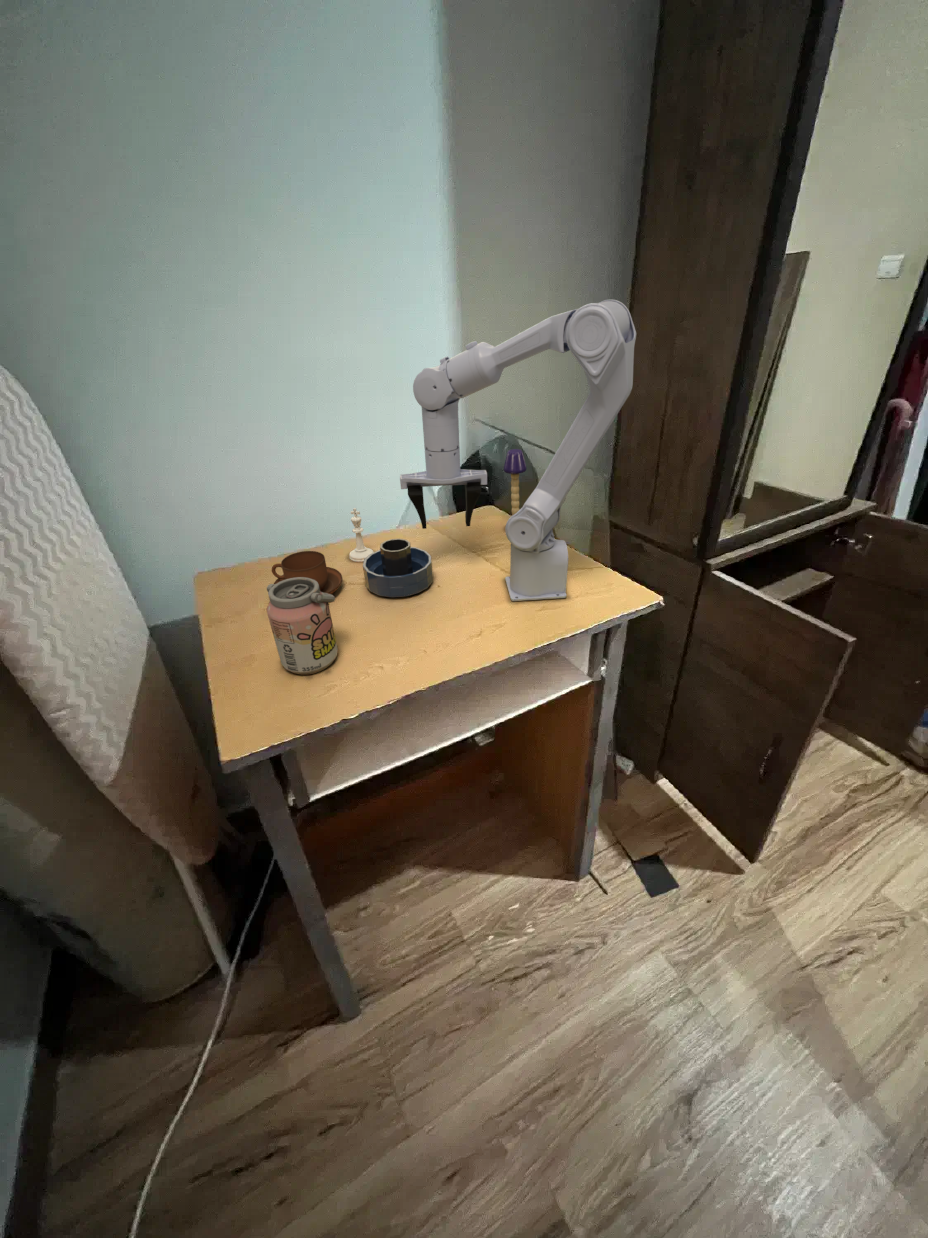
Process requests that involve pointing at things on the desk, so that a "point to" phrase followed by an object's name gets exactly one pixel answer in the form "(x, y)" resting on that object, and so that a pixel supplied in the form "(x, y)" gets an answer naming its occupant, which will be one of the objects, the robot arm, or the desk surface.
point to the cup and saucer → (309, 570)
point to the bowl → (398, 584)
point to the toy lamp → (515, 474)
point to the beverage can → (302, 625)
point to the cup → (396, 557)
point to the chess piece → (358, 540)
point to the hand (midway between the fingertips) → (446, 525)
